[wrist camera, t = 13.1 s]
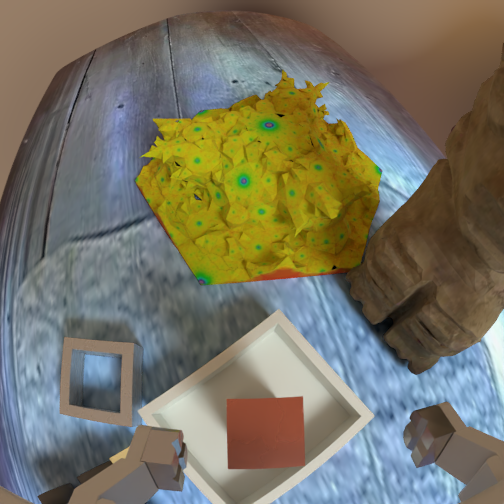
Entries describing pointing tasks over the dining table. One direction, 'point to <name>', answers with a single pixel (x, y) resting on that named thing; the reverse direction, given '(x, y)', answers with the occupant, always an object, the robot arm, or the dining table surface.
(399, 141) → the dining table surface
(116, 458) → the block
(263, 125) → the decorative piece
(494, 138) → the sculpture
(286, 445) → the pin
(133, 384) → the bracket
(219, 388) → the tray
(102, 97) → the dining table surface
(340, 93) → the dining table surface
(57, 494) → the trolley
